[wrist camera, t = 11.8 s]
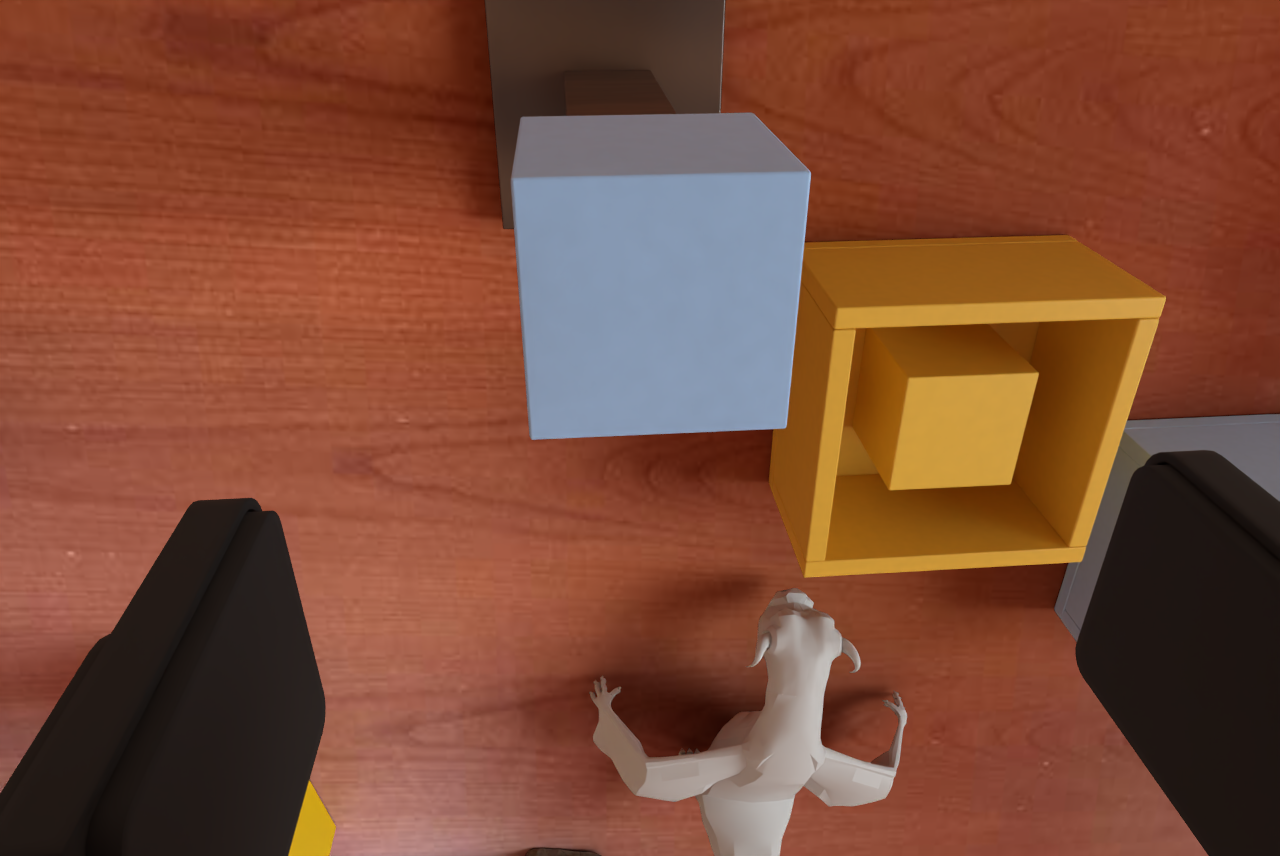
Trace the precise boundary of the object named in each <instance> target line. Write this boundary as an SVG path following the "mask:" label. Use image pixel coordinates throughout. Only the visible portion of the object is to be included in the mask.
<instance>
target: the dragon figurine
mask: <svg viewBox="0 0 1280 856" xmlns="http://www.w3.org/2000/svg"><path fill="white" fill-rule="evenodd" d="M813 604H814V602H813V601H812V600H811V599H810V598H809V597H808V596H806V594H805V593H804V592H802V591H801V590H799V589H798V588H791V589H788V590H783V591H778V592H776V594H775V595H774V597H773V598H772V600H771V602H770V603H769V605H768V607H767V608H766V610H765V612H764V613H763V615H762V616H761V617H760V619H759V624H758V640H757V645H756V654H755V659H754V661H753V663H752V664H751V665H749V666H746V667H753V666H755V665H756V664H757V663H758V662H759V661H760V660H761V658H762V656H764V658H765V661H766V664H767V671H768V684H767V689H766V698H765V706H764V708H763V710H762V711H751V712H739V713H738V714H736V715H735V716H734V717H733V718H732V719H731V720H730V721H729V722H727V723H726V724H725V725H724V726H723V727H722V729H721V730H720V732H719V733H718V734H717V736H716V737H715V739H714V740H713V742H712V744H711V746H710V748H709V749H708V750H707V751H704V752H700V751H699V750H698V749H697V748H696V750H695V752H694V754H693V752H692V750H691V749H690V748H689V749H688V751H687V753H686V754H685V751H684V750H683V748H681V750H680V752H679V755H676V756H667V757H648V756H647V755H646V754H645V752H644V750H643V747H642V745H641V742H640V741H639V740H638V739H637V738H636V737H635V735H634V734H633V733H632V732H631V731H630V730H629V729H628V727H627V726H626V725H625V724H624V723H623V722H622V721H621V719H620V718H619V717H618V716H617V715H616V714H615V713H614V711H613V710H612V708H611V702H612V700H613V698H614V697H615V695H616V694H618V693H620V692H621V690H620V689H621V688H622V687H618V688H615V689H613V690H612V691H611V692H610V693H608V692H607V686H606V685H605V684H606V679H605V678H603V676H602V677H600V679H601V685H600V682H597V681H596V680H595V681H594V682H593V683H594V684H595V691H596V693H597V697H595V693H594V692H589V694H590V697H591V699H592V700H593V702H594V703H595V705H596V706H597V707H598V709H599V723H598V725H597V727H596V730H595V732H594V735H593V741H594V743H595V744H596V745H597V746H598V748H599V749H600V750H601V751H602V752H603V753H605V754H606V755H607V756H609V757H610V758H611V759H612V761H613V763H614V765H615V767H616V769H617V770H618V772H619V774H620V776H621V778H622V780H623V781H624V782H625V784H626V785H627V786H628V788H629V789H630V790H631V791H632V793H633V794H635V795H636V796H642V797H648V798H654V799H660V800H666V801H673V802H675V801H679V800H682V799H685V798H689V797H692V796H695V797H696V799H697V800H698V802H699V805H700V810H701V816H702V821H703V824H704V827H705V829H706V832H707V834H708V837H709V841H710V844H711V847H712V850H713V853H714V855H715V856H779V855H780V848H781V841H782V837H783V834H784V831H785V829H786V826H787V824H788V821H789V818H790V814H791V810H792V806H793V801H794V797H795V794H796V793H797V792H798V791H799V790H800V789H801V788H802V787H803V786H805V787H806V788H807V789H809V790H810V791H811V792H812V793H814V794H815V795H816V796H818V797H819V798H820V799H821V800H822V801H823V802H825V803H826V804H827V805H828V806H856V805H861V804H866V803H871V802H875V801H878V800H881V799H884V798H886V796H887V795H888V793H889V791H890V789H891V787H892V784H893V779H894V777H895V775H896V769H897V767H898V764H899V760H900V752H901V743H902V734H903V728H904V726H905V725H906V719H907V713H906V711H905V710H904V709H905V708H904V707H903V703H902V701H901V697H899V696H898V695H899V693H898V692H896V691H894V690H893V691H894V693H893V698H894V701H895V703H896V705H897V706H896V705H894V704H893V703H891V702H888V700H882V701H883V702H885V704H884V705H885V706H886V707H890V708H891V709H892V710H893V711H894V712H895V714H896V715H897V717H898V722H899V725H898V728H897V730H896V733H895V736H894V739H893V742H892V744H891V747H890V750H889V751H887V752H885V753H883V754H882V755H880V756H879V757H877V758H876V759H874V760H873V761H872V762H870V763H869V762H865V761H861V760H857V759H855V758H852V757H849V756H847V755H844V754H842V753H839V752H836V751H834V750H831V749H829V748H826V747H824V746H823V745H822V742H821V739H820V737H821V723H822V713H823V700H824V692H825V688H826V683H827V680H828V677H829V671H830V667H831V663H832V661H833V660H834V659H835V658H836V657H838V656H840V655H841V652H843V653H845V654H847V655H848V656H849V657H850V658H851V659H852V661H853V662H854V665H855V670H854V671H852V672H850V673H854V672H857V671H858V670H859V668H860V663H861V662H860V657H859V654H858V652H857V650H856V648H855V647H854V646H853V644H852V643H851V642H850V641H848V640H847V639H845V638H843V637H841V634H840V633H839V631H838V630H836V629H835V628H834V620H833V619H832V618H831V617H830V616H829V615H828V614H826V613H823V612H820V611H817V610H816V609H813V608H812V607H813ZM600 688H602V690H601V689H600Z"/></svg>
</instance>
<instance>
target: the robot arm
mask: <svg viewBox="0 0 1280 856" xmlns="http://www.w3.org/2000/svg"><path fill="white" fill-rule="evenodd" d="M1076 660H1077V665H1078V668H1079V670H1080V673H1081V674H1082V676H1083V678H1084V679H1085V681H1086V682H1087V684H1088V685H1089V686H1090V688H1091V689H1092V691H1093V692H1094V694H1095V695H1096V696H1097V698H1098V699H1099V701H1100V702H1101V703H1102V705H1103V706H1104V708H1105V709H1106V711H1107V712H1108V713H1109V715H1110V716H1111V718H1112V719H1113V721H1114V722H1115V723H1116V725H1117V726H1118V728H1119V729H1120V730H1121V732H1122V733H1123V735H1124V736H1125V738H1126V739H1127V740H1128V742H1129V743H1130V745H1131V746H1132V747H1133V749H1134V750H1135V752H1136V753H1137V755H1138V756H1139V757H1140V759H1141V760H1142V762H1143V763H1144V765H1145V766H1146V767H1147V769H1148V770H1149V772H1150V773H1151V774H1152V776H1153V777H1154V779H1155V780H1156V782H1157V783H1158V784H1159V786H1160V787H1161V789H1162V790H1163V792H1164V793H1165V794H1166V796H1167V797H1168V799H1169V800H1170V801H1171V803H1172V804H1173V806H1174V807H1175V809H1176V810H1177V811H1178V813H1179V814H1180V816H1181V817H1182V818H1183V820H1184V821H1185V823H1186V824H1187V826H1188V827H1189V828H1190V830H1191V831H1192V833H1193V834H1194V836H1195V837H1196V838H1197V840H1198V841H1199V843H1200V844H1201V845H1202V847H1203V848H1204V850H1205V851H1206V853H1207V854H1208V855H1209V856H1280V501H1278V500H1277V499H1276V498H1275V497H1273V496H1272V495H1271V494H1270V493H1268V492H1267V491H1266V490H1265V489H1263V488H1262V487H1261V486H1260V485H1258V484H1257V483H1256V482H1255V481H1253V480H1252V479H1251V478H1250V477H1248V476H1247V475H1246V474H1244V473H1243V472H1242V471H1241V470H1239V469H1238V468H1237V467H1236V466H1234V465H1233V464H1232V463H1231V462H1229V461H1228V460H1227V459H1226V458H1224V457H1223V456H1222V455H1220V454H1218V453H1216V452H1215V451H1210V450H1195V451H1175V452H1159V453H1157V454H1154V455H1152V456H1151V457H1150V458H1149V459H1148V460H1147V461H1146V463H1145V465H1144V466H1142V467H1139V468H1138V469H1137V470H1136V471H1135V472H1134V473H1133V475H1132V477H1131V479H1130V482H1129V485H1128V488H1127V491H1126V494H1125V497H1124V500H1123V503H1122V506H1121V509H1120V512H1119V515H1118V518H1117V522H1116V525H1115V528H1114V531H1113V534H1112V537H1111V540H1110V543H1109V546H1108V549H1107V552H1106V555H1105V558H1104V561H1103V564H1102V567H1101V570H1100V573H1099V576H1098V579H1097V582H1096V585H1095V588H1094V591H1093V594H1092V597H1091V600H1090V603H1089V606H1088V609H1087V612H1086V615H1085V618H1084V622H1083V625H1082V628H1081V631H1080V634H1079V637H1078V640H1077V644H1076ZM324 722H325V697H324V691H323V687H322V683H321V679H320V675H319V671H318V667H317V663H316V659H315V656H314V652H313V648H312V644H311V640H310V636H309V632H308V628H307V624H306V620H305V616H304V612H303V608H302V604H301V600H300V596H299V592H298V588H297V584H296V580H295V576H294V572H293V568H292V564H291V560H290V556H289V552H288V548H287V544H286V540H285V536H284V532H283V528H282V524H281V521H280V518H279V516H278V515H277V513H276V512H274V511H262V509H261V506H260V505H259V503H258V502H257V500H255V499H253V498H240V499H220V500H200V501H196V502H193V503H192V504H191V505H190V506H189V508H188V509H187V511H186V512H185V514H184V515H183V517H182V519H181V520H180V522H179V524H178V525H177V527H176V529H175V530H174V532H173V533H172V535H171V537H170V538H169V540H168V542H167V543H166V545H165V547H164V548H163V550H162V551H161V553H160V555H159V556H158V558H157V560H156V561H155V563H154V564H153V566H152V568H151V569H150V571H149V573H148V574H147V576H146V578H145V579H144V581H143V582H142V584H141V586H140V587H139V589H138V591H137V592H136V594H135V596H134V597H133V599H132V600H131V602H130V604H129V605H128V607H127V609H126V610H125V612H124V613H123V615H122V617H121V618H120V620H119V622H118V623H117V625H116V627H115V628H114V630H113V631H112V633H111V634H109V635H107V636H105V637H103V638H102V639H100V640H99V641H98V642H97V643H96V644H95V646H94V647H93V648H92V649H91V650H90V652H89V653H88V655H87V656H86V658H85V660H84V661H83V663H82V664H81V666H80V668H79V669H78V671H77V672H76V674H75V676H74V677H73V679H72V680H71V682H70V683H69V685H68V687H67V688H66V690H65V691H64V693H63V695H62V696H61V698H60V699H59V701H58V703H57V704H56V706H55V707H54V709H53V711H52V712H51V714H50V715H49V717H48V719H47V720H46V722H45V723H44V725H43V727H42V728H41V730H40V731H39V733H38V735H37V736H36V738H35V739H34V741H33V743H32V744H31V746H30V747H29V749H28V750H27V752H26V754H25V755H24V757H23V758H22V760H21V762H20V763H19V765H18V766H17V768H16V770H15V771H14V773H13V774H12V776H11V778H10V779H9V781H8V782H7V784H6V786H5V787H4V789H3V790H2V792H1V794H0V856H288V854H289V851H290V847H291V844H292V840H293V836H294V833H295V829H296V826H297V822H298V819H299V815H300V811H301V808H302V804H303V801H304V797H305V793H306V790H307V786H308V783H309V779H310V775H311V772H312V768H313V765H314V761H315V757H316V754H317V750H318V747H319V743H320V739H321V736H322V732H323V728H324Z"/></svg>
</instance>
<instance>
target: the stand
mask: <svg viewBox="0 0 1280 856" xmlns="http://www.w3.org/2000/svg"><path fill="white" fill-rule="evenodd" d="M725 1H726V0H485V12H486V24H487V36H488V49H489V61H490V73H491V86H492V98H493V110H494V123H495V135H496V147H497V160H498V172H499V184H500V197H501V209H502V221H503V228H504V229H514V220H513V207H512V193H511V175H512V169H513V163H514V156H515V150H516V144H517V138H518V131H519V125H520V119H521V118H522V117H538V116H596V115H653V114H710V113H721V93H722V70H723V47H724V24H725Z"/></svg>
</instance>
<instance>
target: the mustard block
mask: <svg viewBox="0 0 1280 856" xmlns="http://www.w3.org/2000/svg"><path fill="white" fill-rule="evenodd" d="M1038 375H1039V373H1038V371H1036V370H1035V369H1034V368H1033V367H1032V366H1031V365H1030V364H1029V363H1028V362H1027V361H1026V360H1025V359H1024V358H1023V357H1022V356H1021V355H1020V354H1019V353H1018V352H1017V351H1016V350H1014V349H1013V348H1012V347H1011V346H1010V345H1009V344H1008V343H1007V342H1006V341H1005V340H1004V339H1003V338H1002V337H1001V336H1000V335H999V334H998V333H997V332H996V331H995V330H994V329H992V328H991V327H990V326H989V325H988V324H965V325H937V326H909V327H881V328H866V332H865V340H864V347H863V354H862V361H861V368H860V375H859V382H858V389H857V396H856V403H855V411H854V418H853V425H852V427H853V429H854V431H855V433H856V434H857V436H858V438H859V440H860V441H861V443H862V445H863V447H864V448H865V450H866V452H867V453H868V455H869V457H870V459H871V460H872V462H873V464H874V466H875V467H876V469H877V471H878V473H879V474H880V476H881V478H882V480H883V481H884V483H885V485H886V486H887V488H888V490H909V489H929V488H950V487H970V486H991V485H1010V484H1011V481H1012V477H1013V473H1014V469H1015V465H1016V461H1017V458H1018V454H1019V450H1020V446H1021V442H1022V438H1023V434H1024V430H1025V426H1026V422H1027V418H1028V415H1029V411H1030V407H1031V403H1032V399H1033V395H1034V391H1035V387H1036V383H1037V379H1038Z"/></svg>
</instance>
